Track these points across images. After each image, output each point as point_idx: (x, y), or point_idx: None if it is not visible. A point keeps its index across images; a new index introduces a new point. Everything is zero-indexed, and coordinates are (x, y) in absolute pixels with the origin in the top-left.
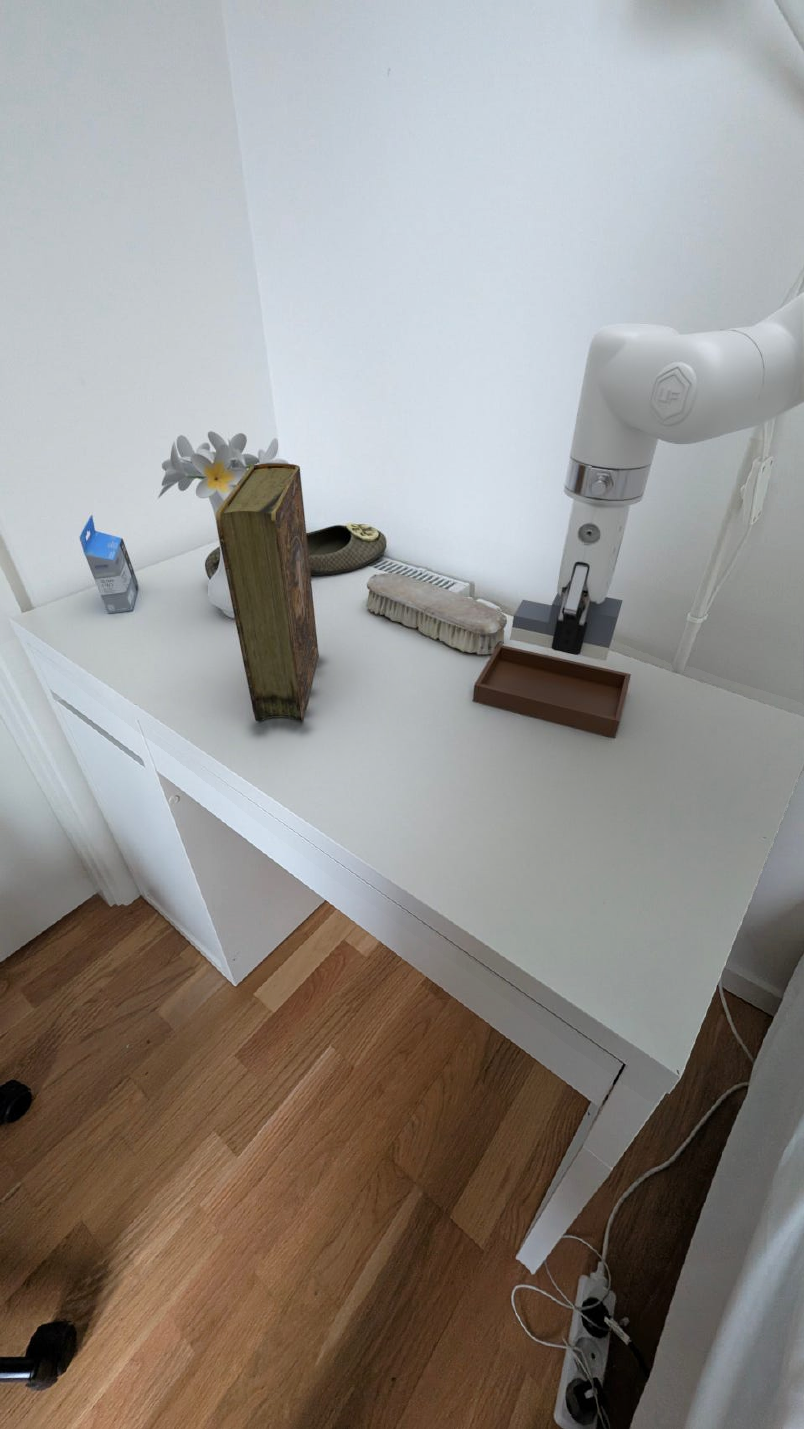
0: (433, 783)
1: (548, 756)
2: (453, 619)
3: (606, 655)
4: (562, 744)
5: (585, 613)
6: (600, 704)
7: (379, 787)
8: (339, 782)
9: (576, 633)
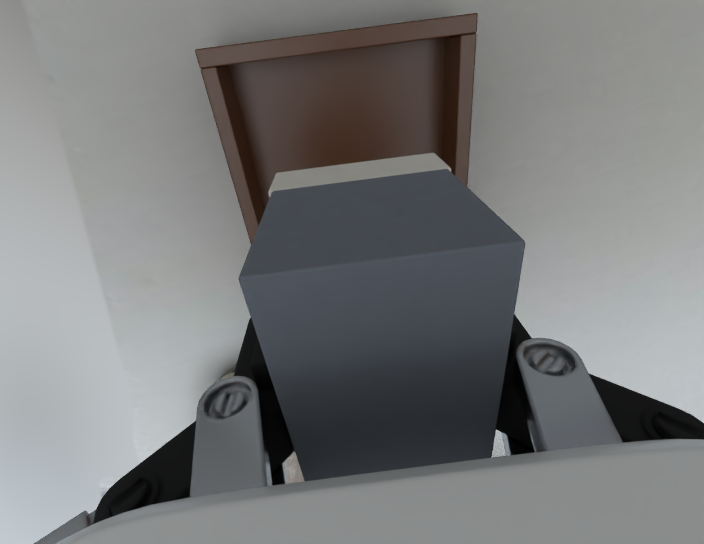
0: (674, 293)
1: (568, 153)
2: (298, 473)
3: (440, 160)
4: (519, 139)
5: (600, 402)
6: (342, 101)
7: (688, 344)
8: (682, 381)
9: (515, 326)
